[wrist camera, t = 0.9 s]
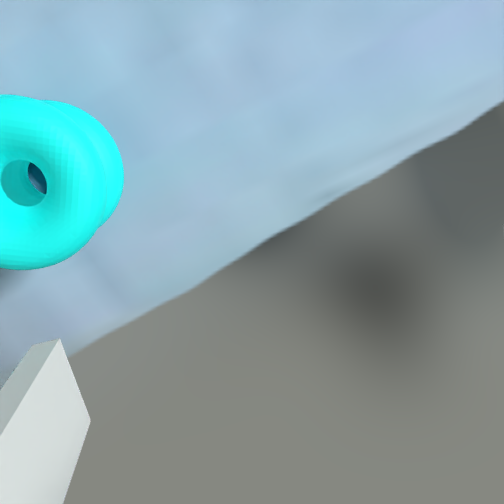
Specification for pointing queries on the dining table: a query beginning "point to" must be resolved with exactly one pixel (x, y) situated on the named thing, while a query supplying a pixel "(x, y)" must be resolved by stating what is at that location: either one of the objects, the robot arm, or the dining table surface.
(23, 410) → the robot arm
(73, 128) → the donuts
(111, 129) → the dining table surface
